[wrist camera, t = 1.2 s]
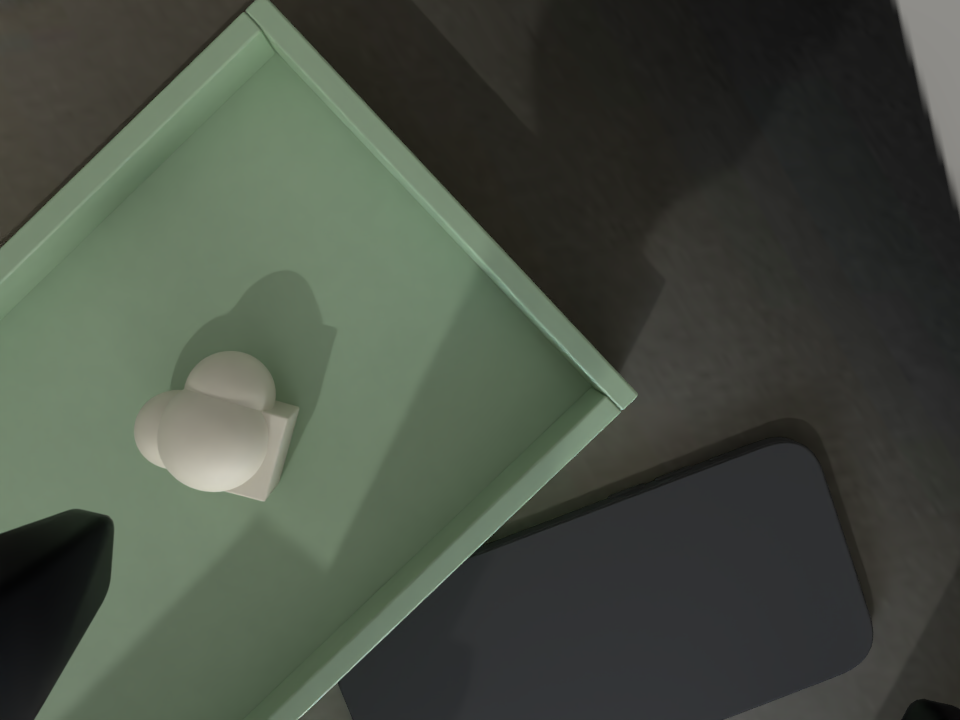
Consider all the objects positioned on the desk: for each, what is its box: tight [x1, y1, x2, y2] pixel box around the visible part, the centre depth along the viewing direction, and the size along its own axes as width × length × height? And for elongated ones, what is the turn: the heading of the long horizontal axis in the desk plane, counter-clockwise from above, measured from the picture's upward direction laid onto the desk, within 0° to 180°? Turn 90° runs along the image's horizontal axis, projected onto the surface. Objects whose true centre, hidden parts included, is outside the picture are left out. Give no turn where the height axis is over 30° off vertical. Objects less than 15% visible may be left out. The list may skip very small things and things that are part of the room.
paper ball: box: [134, 351, 299, 501], centre depth 19 cm, size 4×4×3 cm
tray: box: [0, 0, 638, 720], centre depth 20 cm, size 21×13×2 cm, turn 134°
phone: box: [338, 437, 873, 720], centre depth 22 cm, size 7×1×15 cm
